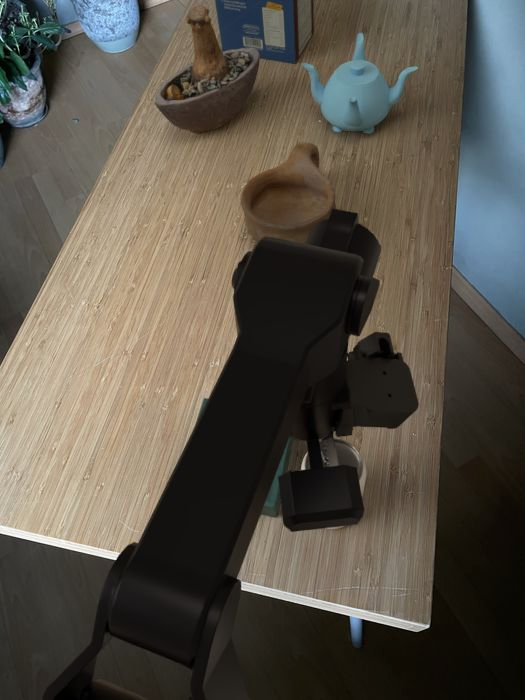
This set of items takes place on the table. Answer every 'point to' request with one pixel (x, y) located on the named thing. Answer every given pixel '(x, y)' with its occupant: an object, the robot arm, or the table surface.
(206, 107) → the planter
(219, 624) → the robot arm
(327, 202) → the bowl
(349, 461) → the can
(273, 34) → the protein box
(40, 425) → the table surface
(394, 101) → the teapot
